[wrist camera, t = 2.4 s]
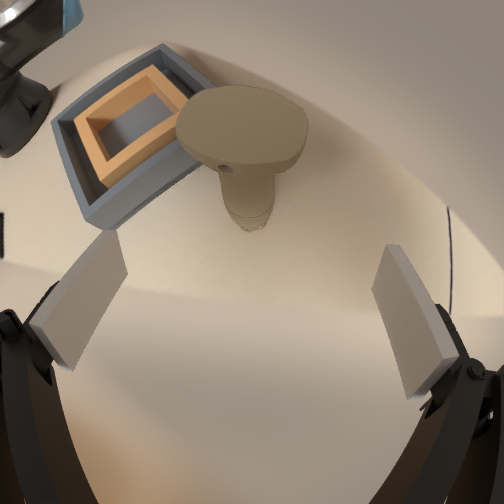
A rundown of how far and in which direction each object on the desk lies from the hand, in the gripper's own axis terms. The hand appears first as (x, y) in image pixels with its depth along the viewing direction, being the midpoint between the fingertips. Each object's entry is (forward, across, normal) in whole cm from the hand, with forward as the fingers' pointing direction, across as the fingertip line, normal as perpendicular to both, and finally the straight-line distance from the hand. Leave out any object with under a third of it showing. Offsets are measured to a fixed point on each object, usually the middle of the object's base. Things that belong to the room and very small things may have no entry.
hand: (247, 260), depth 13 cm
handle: (+14, -1, -5) cm, 15 cm away
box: (+21, -15, +3) cm, 26 cm away
